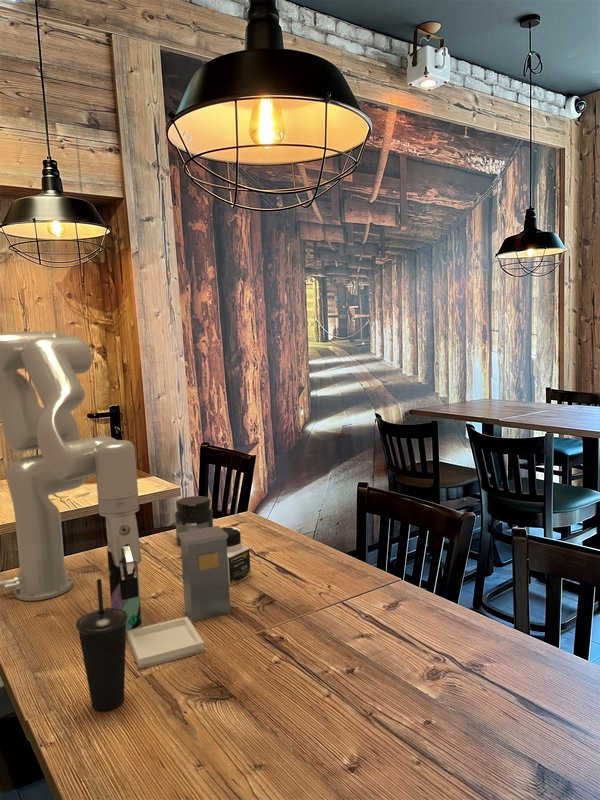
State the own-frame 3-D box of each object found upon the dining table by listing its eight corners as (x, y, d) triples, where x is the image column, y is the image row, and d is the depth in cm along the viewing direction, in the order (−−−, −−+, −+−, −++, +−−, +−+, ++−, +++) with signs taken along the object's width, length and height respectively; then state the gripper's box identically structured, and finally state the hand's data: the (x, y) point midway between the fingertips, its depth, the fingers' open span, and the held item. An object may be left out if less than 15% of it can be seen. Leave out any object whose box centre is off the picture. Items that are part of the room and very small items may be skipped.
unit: (191, 623, 119) (186, 541, 117) (183, 610, 124) (178, 532, 123) (232, 613, 122) (228, 534, 121) (222, 601, 128) (218, 525, 126)
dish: (139, 669, 102) (138, 659, 102) (127, 639, 113) (127, 630, 113) (204, 651, 107) (203, 642, 107) (187, 625, 118) (187, 616, 118)
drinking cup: (115, 682, 99) (106, 566, 97) (143, 698, 94) (134, 577, 92) (72, 705, 93) (62, 582, 91) (100, 724, 88) (90, 594, 86)
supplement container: (202, 533, 175) (200, 493, 174) (221, 541, 167) (218, 500, 166) (170, 541, 169) (167, 500, 167) (187, 551, 160) (184, 507, 159)
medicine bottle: (230, 586, 136) (227, 535, 134) (208, 580, 140) (205, 530, 139) (251, 576, 141) (249, 527, 140) (229, 570, 146) (227, 522, 144)
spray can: (107, 632, 116) (99, 533, 114) (123, 619, 121) (116, 524, 119) (131, 635, 114) (124, 535, 112) (146, 622, 120) (140, 526, 118)
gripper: (147, 511, 109) (154, 600, 111) (130, 492, 125) (136, 571, 126) (104, 518, 106) (112, 610, 107) (93, 497, 121) (100, 578, 123)
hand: (125, 589), depth 117 cm, fingers open, 9 cm apart
